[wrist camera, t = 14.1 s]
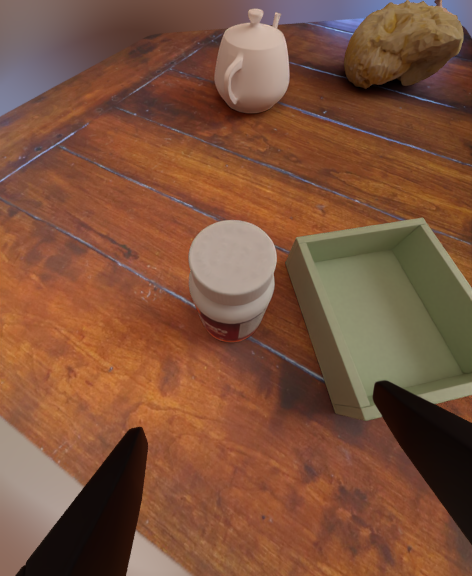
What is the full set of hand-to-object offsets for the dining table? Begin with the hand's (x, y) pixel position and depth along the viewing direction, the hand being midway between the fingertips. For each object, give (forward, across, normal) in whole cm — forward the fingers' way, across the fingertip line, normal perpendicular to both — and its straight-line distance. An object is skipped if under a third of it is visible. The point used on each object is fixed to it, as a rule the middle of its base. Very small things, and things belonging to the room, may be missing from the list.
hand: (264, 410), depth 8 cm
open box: (+13, -14, +5) cm, 20 cm away
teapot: (+42, -10, -24) cm, 50 cm away
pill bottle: (+15, 0, +4) cm, 15 cm away
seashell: (+44, -36, -26) cm, 62 cm away
